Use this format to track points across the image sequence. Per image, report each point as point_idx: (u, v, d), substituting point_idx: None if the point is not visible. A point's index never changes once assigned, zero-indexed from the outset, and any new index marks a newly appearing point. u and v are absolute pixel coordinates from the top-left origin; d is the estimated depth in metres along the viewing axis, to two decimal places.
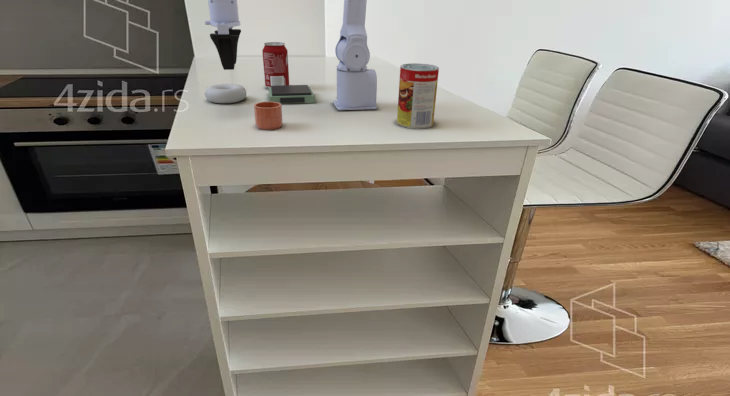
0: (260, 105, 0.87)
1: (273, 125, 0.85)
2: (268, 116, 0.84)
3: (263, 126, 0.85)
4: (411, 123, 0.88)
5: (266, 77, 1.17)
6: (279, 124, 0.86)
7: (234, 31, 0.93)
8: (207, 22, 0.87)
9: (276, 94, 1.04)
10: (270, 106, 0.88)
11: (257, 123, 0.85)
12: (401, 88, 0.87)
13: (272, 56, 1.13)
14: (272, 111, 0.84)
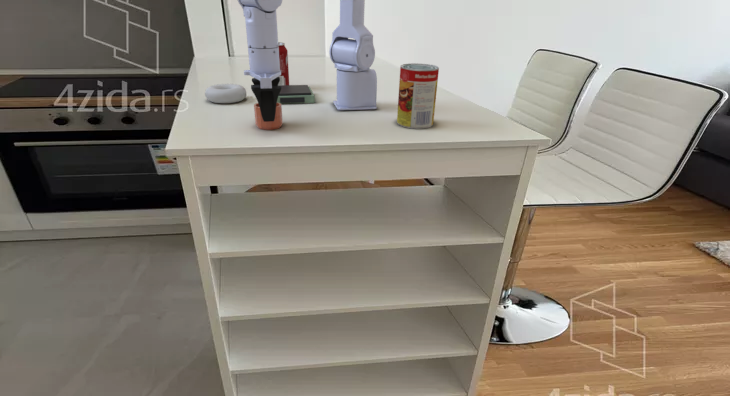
0: None
1: (273, 125, 0.85)
2: None
3: (263, 126, 0.85)
4: (411, 123, 0.88)
5: None
6: (279, 124, 0.86)
7: (273, 79, 0.86)
8: (247, 72, 0.81)
9: None
10: None
11: (257, 123, 0.85)
12: (401, 88, 0.87)
13: None
14: None
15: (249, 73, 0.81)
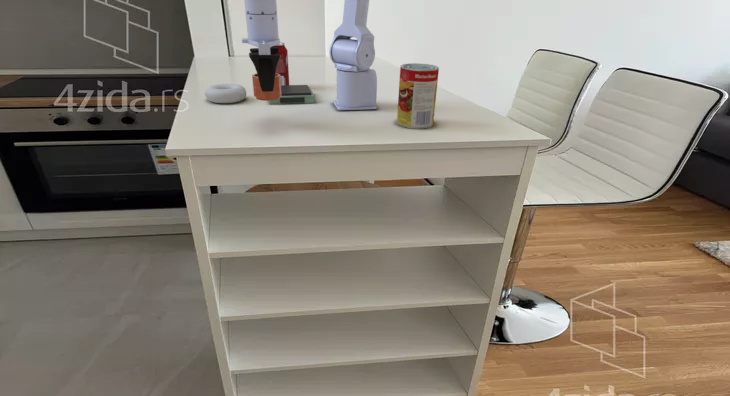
0: None
1: (272, 96, 0.83)
2: None
3: (262, 97, 0.83)
4: (411, 123, 0.88)
5: None
6: (278, 95, 0.84)
7: (271, 49, 0.84)
8: (244, 40, 0.79)
9: None
10: None
11: (255, 94, 0.83)
12: (401, 88, 0.87)
13: None
14: None
15: (247, 41, 0.79)
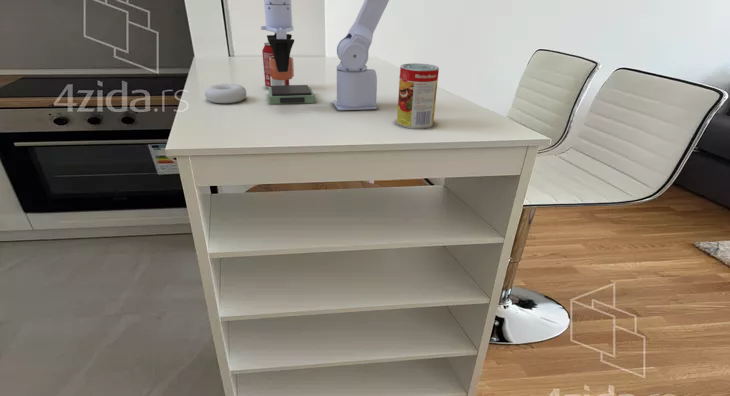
0: (274, 59, 0.98)
1: (286, 76, 0.96)
2: None
3: (277, 76, 0.95)
4: (411, 123, 0.88)
5: (266, 77, 1.17)
6: (291, 75, 0.97)
7: (285, 36, 0.97)
8: (263, 27, 0.92)
9: (276, 94, 1.04)
10: None
11: (272, 74, 0.96)
12: (401, 88, 0.87)
13: (272, 56, 1.13)
14: None
15: (265, 28, 0.92)
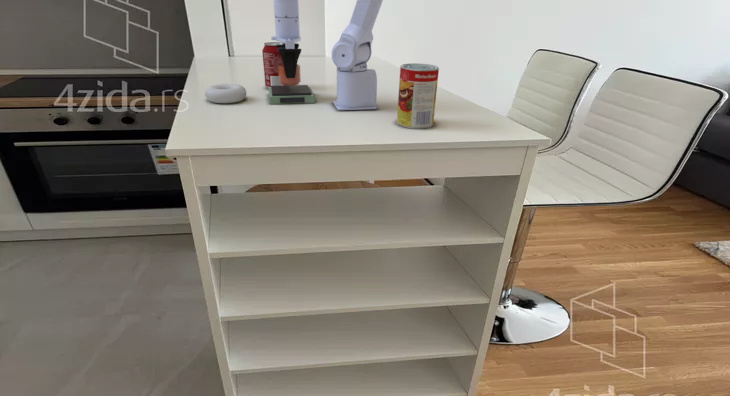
0: (282, 66, 1.07)
1: (293, 81, 1.05)
2: None
3: (285, 82, 1.05)
4: (411, 123, 0.88)
5: (266, 77, 1.17)
6: (298, 81, 1.06)
7: (293, 45, 1.07)
8: (273, 38, 1.01)
9: (276, 94, 1.04)
10: None
11: (280, 80, 1.06)
12: (401, 88, 0.87)
13: (272, 56, 1.13)
14: None
15: (275, 38, 1.01)
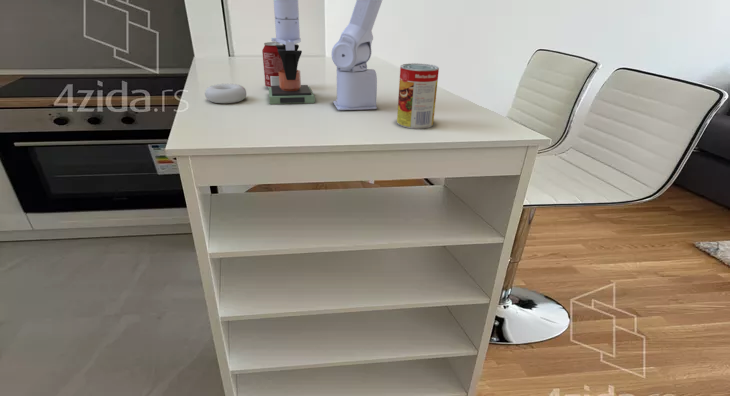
0: (283, 72, 1.08)
1: (294, 87, 1.06)
2: None
3: (286, 88, 1.06)
4: (411, 123, 0.88)
5: (266, 77, 1.17)
6: (298, 87, 1.07)
7: None
8: (273, 39, 1.02)
9: (276, 94, 1.04)
10: None
11: (281, 86, 1.06)
12: (401, 88, 0.87)
13: (272, 56, 1.13)
14: None
15: (275, 40, 1.02)
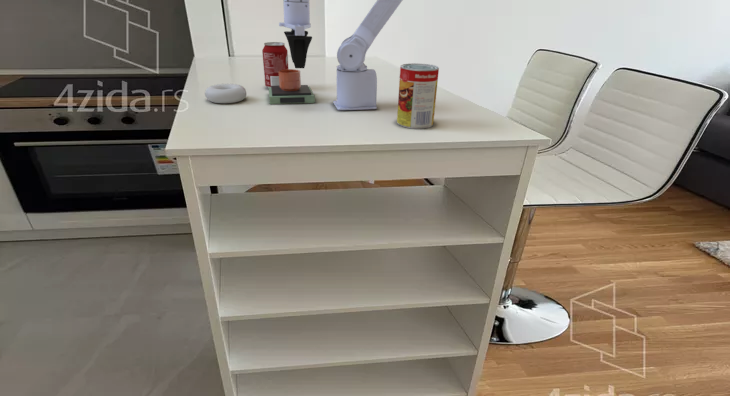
0: (283, 72, 1.08)
1: (294, 87, 1.06)
2: (290, 79, 1.05)
3: (286, 88, 1.06)
4: (411, 123, 0.88)
5: (266, 77, 1.17)
6: (298, 87, 1.07)
7: None
8: (282, 24, 0.94)
9: (276, 94, 1.04)
10: (291, 73, 1.09)
11: (281, 86, 1.06)
12: (401, 88, 0.87)
13: (272, 56, 1.13)
14: (293, 75, 1.05)
15: (284, 24, 0.94)
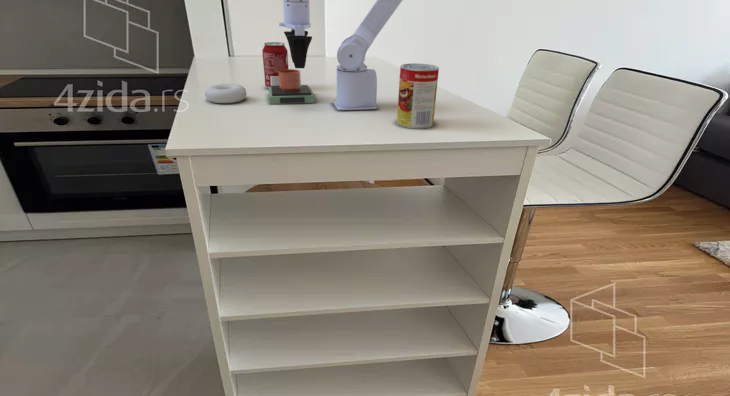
0: (283, 72, 1.08)
1: (294, 87, 1.06)
2: (290, 79, 1.05)
3: (286, 88, 1.06)
4: (411, 123, 0.88)
5: (266, 77, 1.17)
6: (298, 87, 1.07)
7: None
8: (282, 24, 0.94)
9: (276, 94, 1.04)
10: (291, 73, 1.09)
11: (281, 86, 1.06)
12: (401, 88, 0.87)
13: (272, 56, 1.13)
14: (293, 75, 1.05)
15: (284, 24, 0.94)
